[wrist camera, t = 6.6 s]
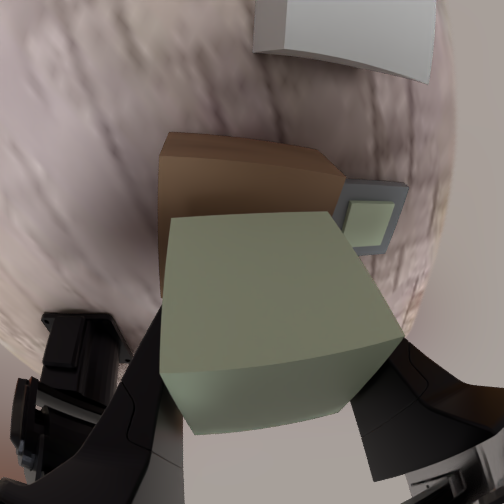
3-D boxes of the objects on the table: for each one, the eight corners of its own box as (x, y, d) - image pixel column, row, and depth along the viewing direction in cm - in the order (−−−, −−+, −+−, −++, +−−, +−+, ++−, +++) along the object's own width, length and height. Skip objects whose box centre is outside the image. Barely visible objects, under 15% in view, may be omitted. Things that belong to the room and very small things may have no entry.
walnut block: (282, 256, 17) (298, 299, 14) (165, 252, 15) (160, 298, 13) (315, 147, 13) (346, 177, 10) (169, 130, 11) (159, 155, 9)
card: (381, 248, 18) (387, 256, 17) (315, 252, 17) (320, 262, 16) (403, 182, 15) (412, 189, 14) (332, 178, 14) (339, 185, 13)
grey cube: (357, 67, 10) (428, 84, 6) (252, 52, 9) (283, 48, 6) (364, -18, 7) (435, -33, 3) (258, -42, 6) (292, -89, 2)
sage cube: (327, 211, 9) (405, 335, 5) (302, 309, 12) (338, 412, 8) (171, 217, 8) (159, 373, 4) (187, 319, 11) (194, 435, 8)
